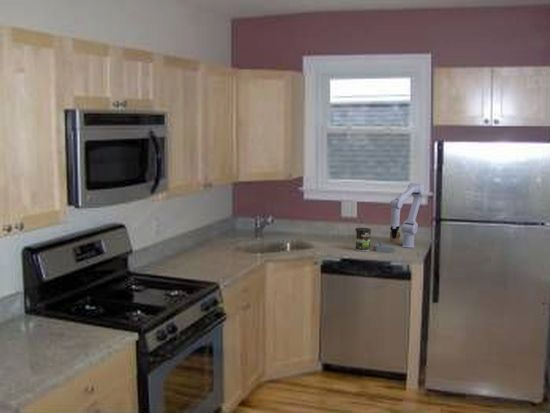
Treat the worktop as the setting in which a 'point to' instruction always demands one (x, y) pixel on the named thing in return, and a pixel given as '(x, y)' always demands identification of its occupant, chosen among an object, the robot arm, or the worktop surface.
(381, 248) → the cleat wall
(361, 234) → the coffee can
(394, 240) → the cabinet block
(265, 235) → the worktop surface
